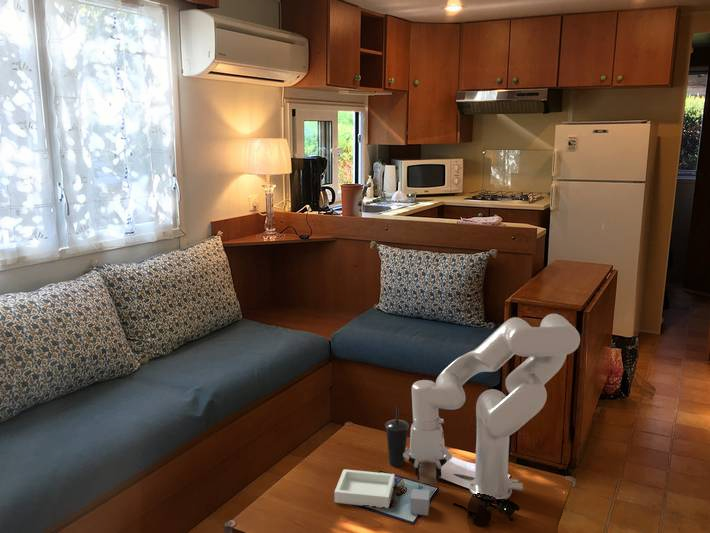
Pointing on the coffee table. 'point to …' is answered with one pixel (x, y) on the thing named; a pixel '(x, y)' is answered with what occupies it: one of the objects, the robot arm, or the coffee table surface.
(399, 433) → the drinking cup
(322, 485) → the coffee table surface
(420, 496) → the grey block
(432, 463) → the walnut block
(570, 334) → the robot arm
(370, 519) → the coffee table surface
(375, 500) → the white tray
